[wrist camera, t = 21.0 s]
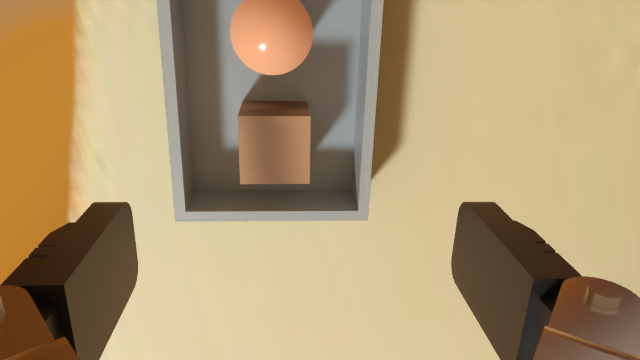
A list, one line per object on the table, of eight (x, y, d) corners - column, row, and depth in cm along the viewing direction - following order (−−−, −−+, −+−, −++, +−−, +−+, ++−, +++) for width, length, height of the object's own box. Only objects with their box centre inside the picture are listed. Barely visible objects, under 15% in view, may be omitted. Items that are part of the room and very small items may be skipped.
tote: (374, -55, 35) (388, -61, 31) (358, 195, 43) (367, 220, 38) (168, -63, 34) (150, -71, 30) (187, 195, 41) (175, 221, 37)
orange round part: (307, -9, 36) (313, -11, 29) (307, 62, 37) (312, 75, 31) (238, -9, 35) (227, -12, 29) (241, 62, 37) (232, 75, 30)
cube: (307, 101, 38) (310, 116, 34) (306, 161, 40) (309, 183, 36) (242, 100, 38) (237, 116, 33) (244, 161, 40) (240, 184, 35)
